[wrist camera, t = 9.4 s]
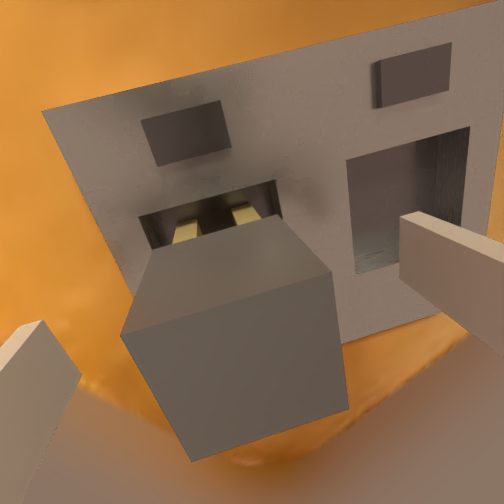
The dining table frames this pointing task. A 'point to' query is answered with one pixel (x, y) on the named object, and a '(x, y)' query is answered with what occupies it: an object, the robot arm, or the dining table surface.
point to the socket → (306, 152)
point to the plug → (237, 333)
